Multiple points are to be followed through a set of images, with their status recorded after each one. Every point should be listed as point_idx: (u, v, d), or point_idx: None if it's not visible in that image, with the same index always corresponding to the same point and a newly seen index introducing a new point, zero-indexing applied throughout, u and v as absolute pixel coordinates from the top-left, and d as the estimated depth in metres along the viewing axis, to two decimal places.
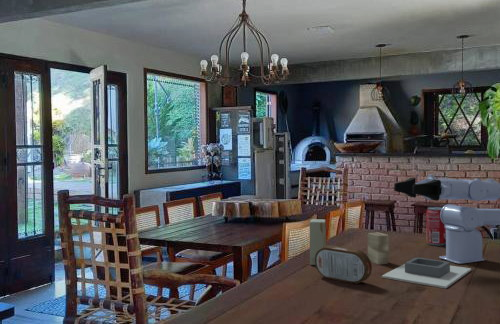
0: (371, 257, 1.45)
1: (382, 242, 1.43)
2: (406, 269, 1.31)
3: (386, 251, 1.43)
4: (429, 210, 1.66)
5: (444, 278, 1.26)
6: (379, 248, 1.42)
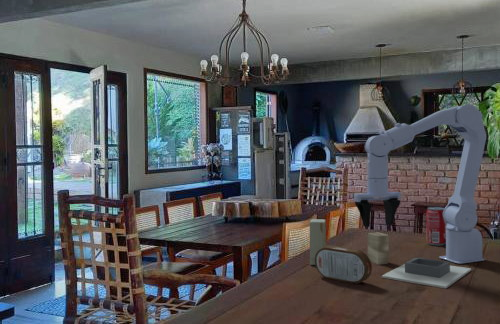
0: (371, 257, 1.45)
1: (382, 242, 1.43)
2: (406, 269, 1.31)
3: (386, 251, 1.43)
4: (429, 210, 1.66)
5: (444, 278, 1.26)
6: (379, 248, 1.42)
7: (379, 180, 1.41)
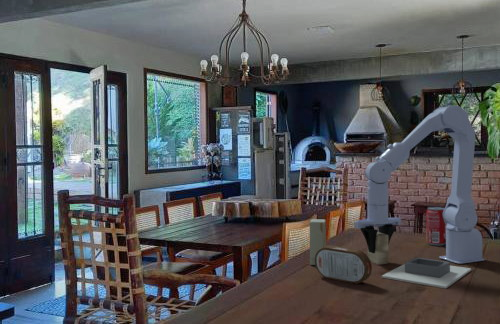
0: (371, 257, 1.45)
1: (382, 242, 1.43)
2: (406, 269, 1.31)
3: (386, 251, 1.43)
4: (429, 210, 1.66)
5: (444, 278, 1.26)
6: (379, 248, 1.42)
7: (379, 207, 1.42)
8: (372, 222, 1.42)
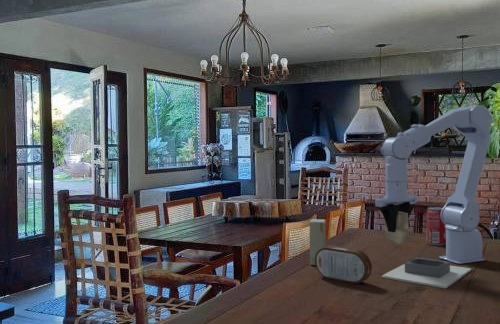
0: (390, 237, 1.39)
1: (403, 220, 1.37)
2: (406, 269, 1.31)
3: (406, 230, 1.38)
4: (429, 210, 1.66)
5: (444, 278, 1.26)
6: (400, 227, 1.37)
7: (401, 184, 1.36)
8: (394, 200, 1.36)
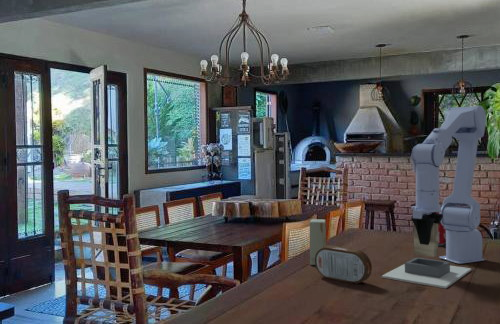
0: (421, 250, 1.31)
1: (435, 232, 1.30)
2: (406, 269, 1.31)
3: (437, 241, 1.31)
4: None
5: (444, 278, 1.26)
6: (434, 239, 1.29)
7: (435, 193, 1.28)
8: (430, 210, 1.27)
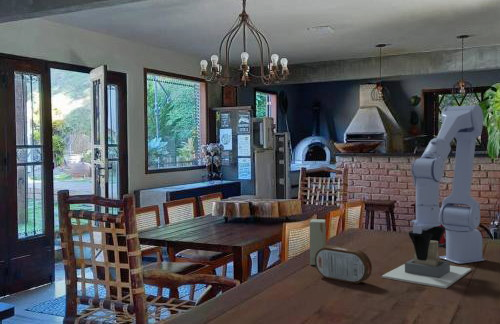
0: None
1: (435, 250, 1.30)
2: (406, 269, 1.31)
3: (437, 259, 1.31)
4: None
5: (444, 278, 1.26)
6: (434, 256, 1.29)
7: (435, 207, 1.28)
8: (430, 225, 1.27)
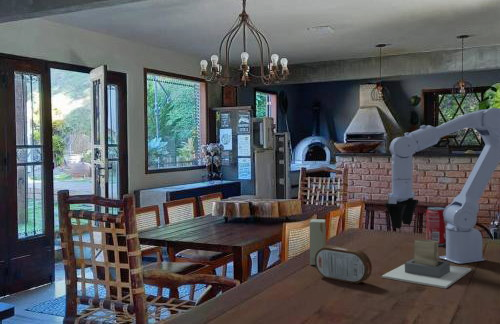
0: None
1: (435, 250, 1.30)
2: (406, 269, 1.31)
3: (437, 259, 1.31)
4: (429, 210, 1.66)
5: (444, 278, 1.26)
6: (434, 256, 1.29)
7: (409, 181, 1.43)
8: (404, 196, 1.42)
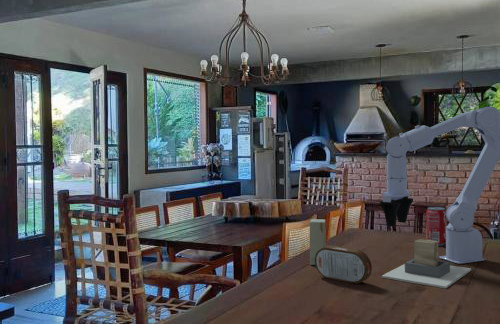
0: None
1: (435, 250, 1.30)
2: (406, 269, 1.31)
3: (437, 259, 1.31)
4: (429, 210, 1.66)
5: (444, 278, 1.26)
6: (434, 256, 1.29)
7: (403, 180, 1.46)
8: (399, 195, 1.45)
